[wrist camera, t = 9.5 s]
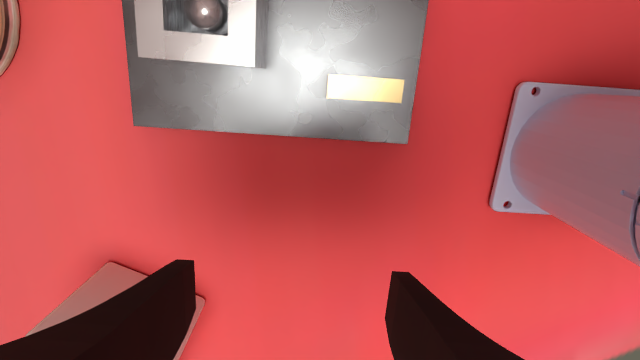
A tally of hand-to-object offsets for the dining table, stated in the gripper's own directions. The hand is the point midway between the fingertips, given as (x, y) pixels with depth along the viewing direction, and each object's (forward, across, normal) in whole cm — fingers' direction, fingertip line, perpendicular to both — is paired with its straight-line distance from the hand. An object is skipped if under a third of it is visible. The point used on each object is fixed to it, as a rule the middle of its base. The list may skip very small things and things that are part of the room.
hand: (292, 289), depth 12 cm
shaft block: (+10, +2, -10) cm, 14 cm away
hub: (+9, +5, -10) cm, 15 cm away
